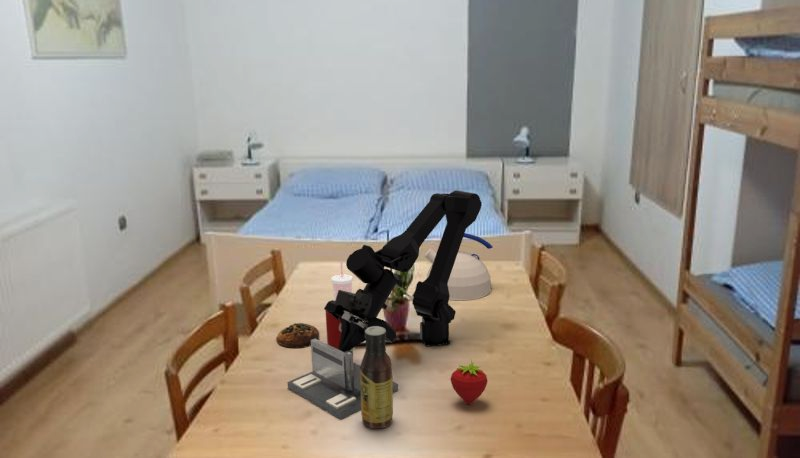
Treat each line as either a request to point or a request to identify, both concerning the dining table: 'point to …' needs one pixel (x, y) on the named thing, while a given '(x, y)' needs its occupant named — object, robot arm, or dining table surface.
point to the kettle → (467, 274)
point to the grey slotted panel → (333, 364)
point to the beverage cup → (341, 283)
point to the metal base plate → (332, 393)
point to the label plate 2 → (340, 401)
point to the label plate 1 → (306, 381)
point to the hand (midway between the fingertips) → (339, 354)
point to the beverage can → (333, 330)
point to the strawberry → (469, 382)
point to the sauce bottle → (376, 380)
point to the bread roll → (297, 335)
